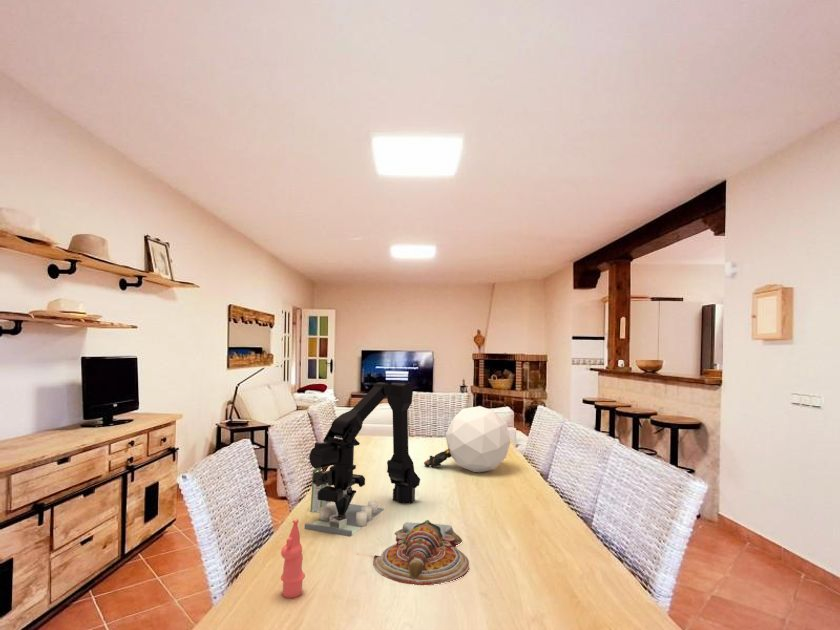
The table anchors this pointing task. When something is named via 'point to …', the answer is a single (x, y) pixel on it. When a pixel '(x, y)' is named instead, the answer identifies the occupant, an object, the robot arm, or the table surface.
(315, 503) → the ink box
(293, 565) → the figurine
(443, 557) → the decorative mask
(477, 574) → the table surface
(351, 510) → the slate board
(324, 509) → the spacers
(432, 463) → the light fixture
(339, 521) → the star tealight holder
